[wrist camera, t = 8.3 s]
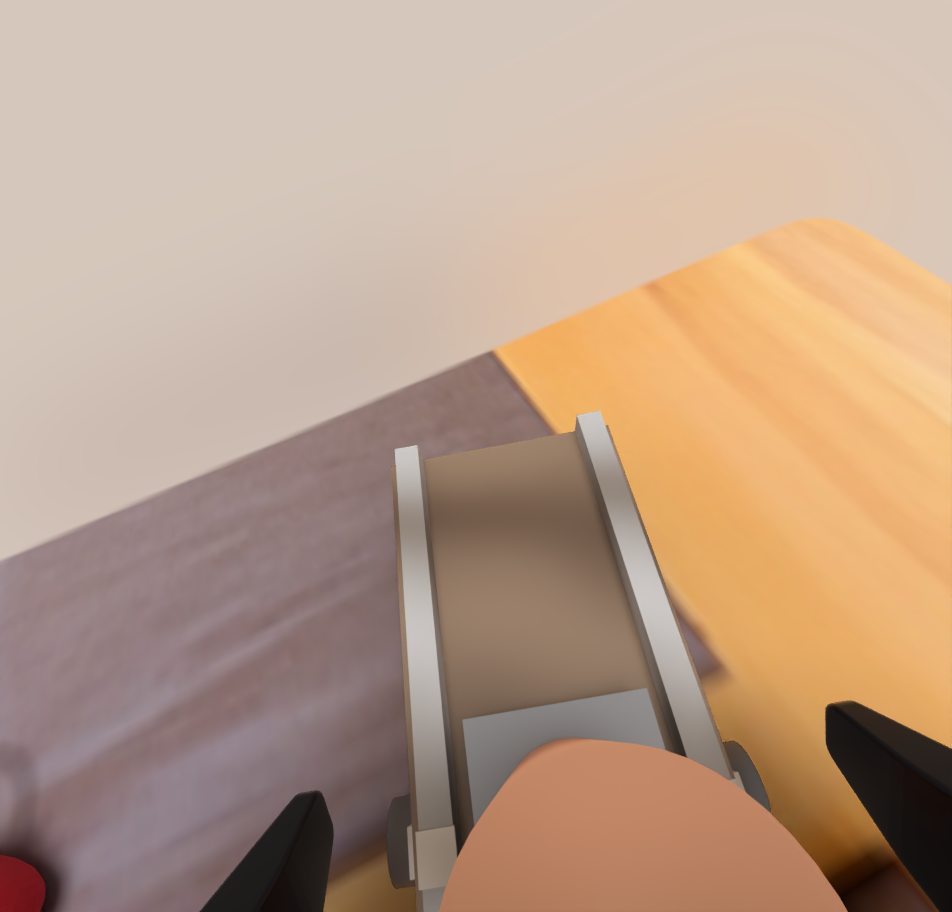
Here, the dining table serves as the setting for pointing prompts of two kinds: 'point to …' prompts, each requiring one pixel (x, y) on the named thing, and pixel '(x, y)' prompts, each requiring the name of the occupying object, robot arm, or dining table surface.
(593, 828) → the rider
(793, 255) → the dining table surface
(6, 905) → the alarm clock
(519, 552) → the brown piece
